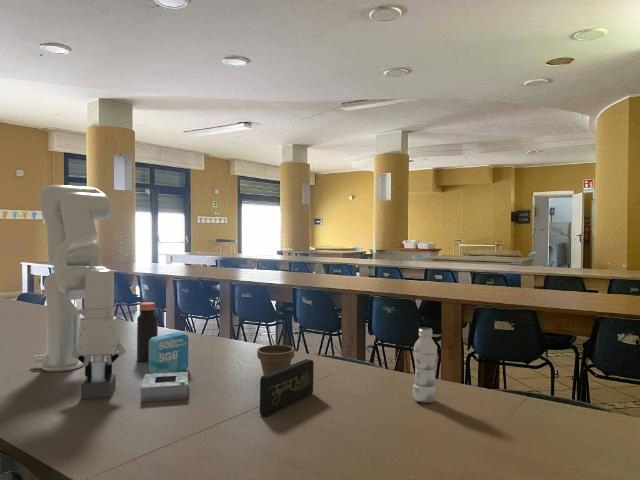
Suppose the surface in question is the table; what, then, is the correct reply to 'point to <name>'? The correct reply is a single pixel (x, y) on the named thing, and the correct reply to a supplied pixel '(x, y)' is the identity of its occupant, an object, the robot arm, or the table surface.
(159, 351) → the data package
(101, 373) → the plug
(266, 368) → the flower pot
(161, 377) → the port
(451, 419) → the table surface
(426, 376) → the plastic bottle
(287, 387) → the nameplate
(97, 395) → the grey open box
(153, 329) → the vinegar
